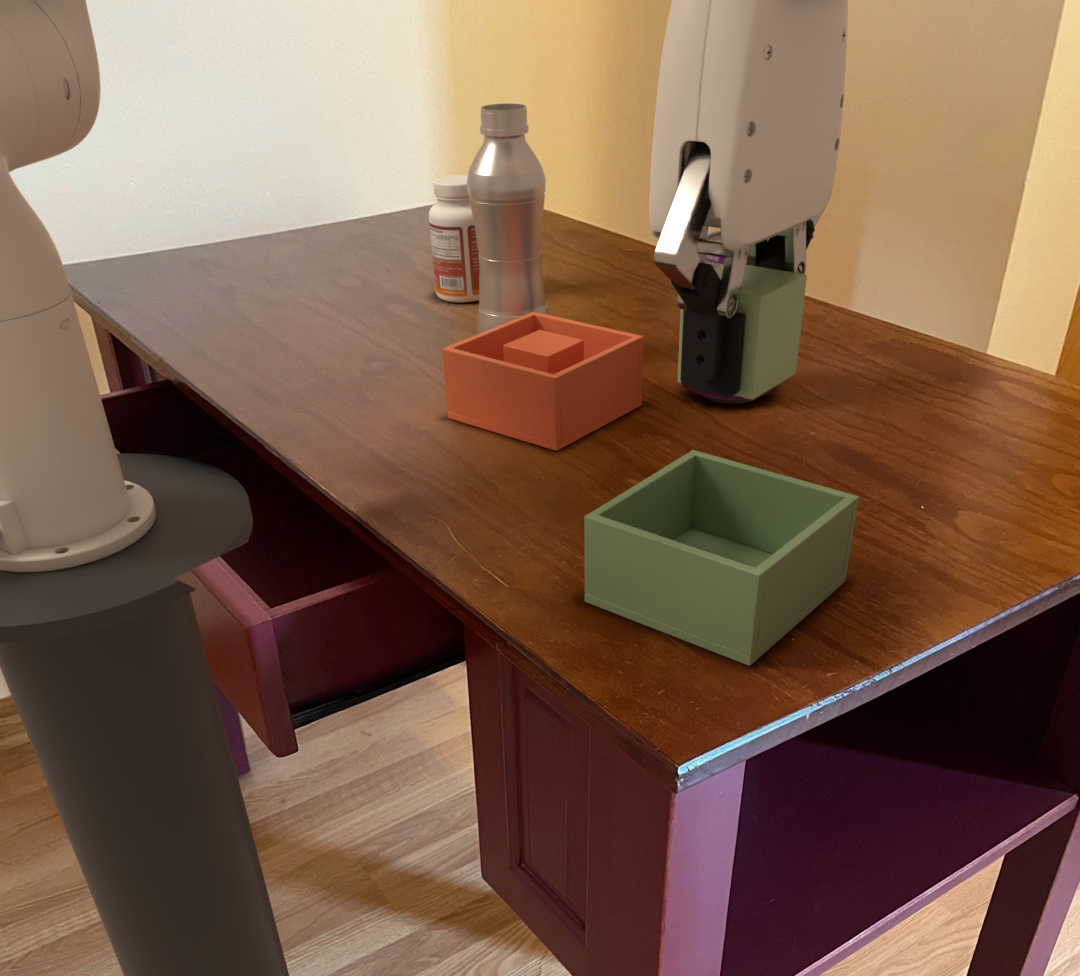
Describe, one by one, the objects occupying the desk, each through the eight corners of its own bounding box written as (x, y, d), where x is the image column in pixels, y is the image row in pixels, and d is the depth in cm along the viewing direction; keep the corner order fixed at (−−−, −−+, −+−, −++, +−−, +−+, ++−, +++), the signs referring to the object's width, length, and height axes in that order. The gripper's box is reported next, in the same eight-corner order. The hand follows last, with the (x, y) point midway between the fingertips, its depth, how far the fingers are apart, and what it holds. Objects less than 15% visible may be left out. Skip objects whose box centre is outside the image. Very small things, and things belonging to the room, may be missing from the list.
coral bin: (556, 451, 81) (555, 378, 78) (447, 418, 87) (441, 348, 84) (642, 405, 88) (644, 335, 85) (535, 377, 94) (533, 311, 91)
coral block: (549, 419, 85) (547, 356, 82) (505, 407, 87) (502, 344, 84) (584, 402, 87) (584, 339, 84) (541, 390, 90) (539, 329, 87)
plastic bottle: (527, 376, 94) (518, 115, 82) (463, 364, 97) (445, 110, 85) (565, 354, 98) (561, 103, 86) (502, 343, 101) (490, 98, 89)
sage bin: (749, 666, 58) (759, 575, 55) (584, 602, 64) (583, 516, 61) (845, 581, 65) (859, 496, 62) (688, 530, 71) (692, 449, 67)
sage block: (752, 400, 54) (761, 297, 51) (677, 382, 57) (681, 282, 53) (796, 373, 57) (807, 274, 54) (722, 357, 59) (729, 261, 56)
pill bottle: (487, 284, 117) (481, 170, 110) (500, 300, 112) (494, 182, 105) (430, 290, 115) (420, 175, 109) (441, 306, 111) (431, 188, 104)
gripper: (788, -63, 53) (756, 320, 64) (575, -41, 42) (581, 410, 53) (937, -65, 49) (875, 343, 60) (743, -41, 39) (711, 445, 50)
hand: (736, 371), depth 57 cm, fingers closed on sage block, 4 cm apart
